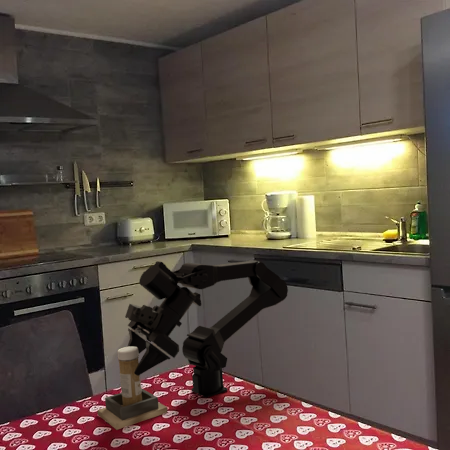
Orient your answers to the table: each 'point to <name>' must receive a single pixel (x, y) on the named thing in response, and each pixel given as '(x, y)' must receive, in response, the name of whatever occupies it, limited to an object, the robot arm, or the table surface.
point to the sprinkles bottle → (129, 375)
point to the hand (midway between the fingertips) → (129, 368)
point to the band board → (130, 410)
